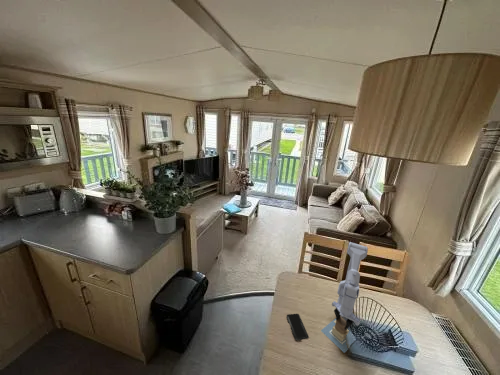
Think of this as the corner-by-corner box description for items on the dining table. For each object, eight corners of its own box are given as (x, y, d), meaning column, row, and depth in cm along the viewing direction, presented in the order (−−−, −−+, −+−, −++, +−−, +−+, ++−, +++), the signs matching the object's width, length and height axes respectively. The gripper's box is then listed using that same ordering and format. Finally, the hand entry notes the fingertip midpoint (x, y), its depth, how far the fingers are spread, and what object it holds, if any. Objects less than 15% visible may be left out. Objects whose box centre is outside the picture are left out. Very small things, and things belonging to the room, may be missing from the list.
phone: (295, 339, 110) (286, 314, 124) (295, 341, 110) (285, 316, 124) (309, 338, 111) (298, 313, 125) (309, 339, 112) (298, 314, 126)
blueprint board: (335, 319, 124) (335, 318, 124) (358, 338, 113) (358, 337, 113) (320, 331, 116) (320, 330, 116) (344, 353, 105) (344, 352, 105)
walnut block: (339, 323, 116) (341, 316, 115) (347, 329, 113) (348, 323, 111) (334, 327, 113) (336, 320, 112) (342, 334, 110) (344, 327, 109)
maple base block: (337, 327, 119) (339, 321, 117) (347, 335, 114) (349, 330, 113) (331, 332, 115) (332, 327, 114) (341, 341, 111) (343, 336, 109)
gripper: (330, 298, 112) (325, 318, 116) (357, 319, 101) (351, 340, 105) (338, 292, 116) (333, 312, 120) (364, 312, 105) (358, 332, 109)
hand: (342, 324), depth 112 cm, fingers closed on walnut block, 4 cm apart
